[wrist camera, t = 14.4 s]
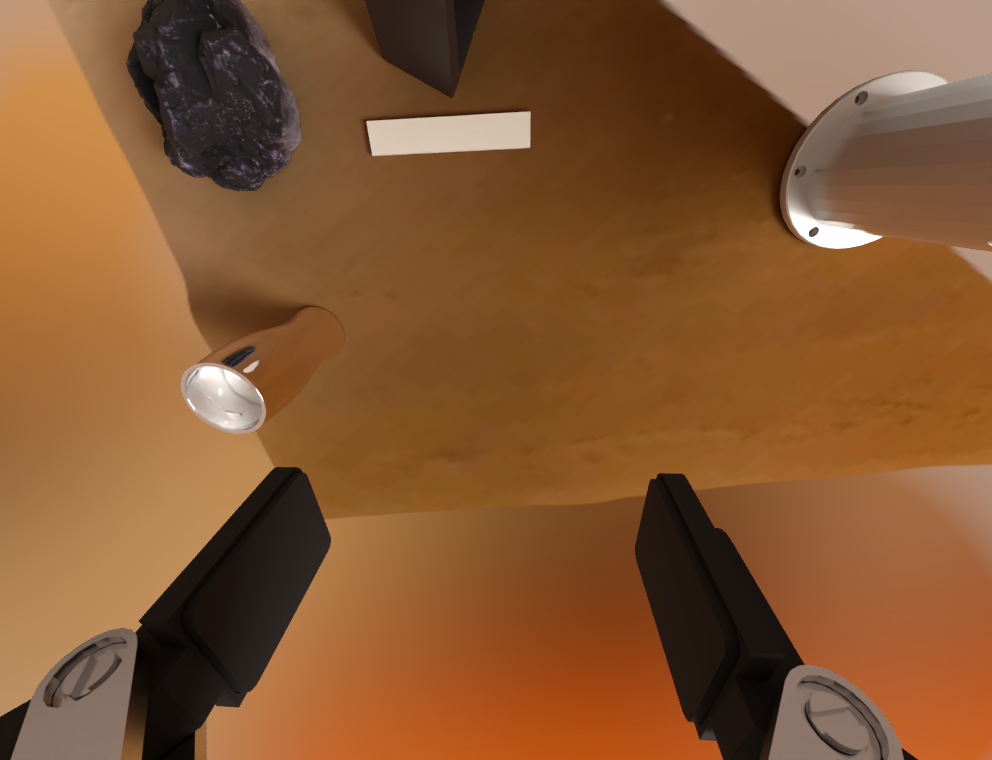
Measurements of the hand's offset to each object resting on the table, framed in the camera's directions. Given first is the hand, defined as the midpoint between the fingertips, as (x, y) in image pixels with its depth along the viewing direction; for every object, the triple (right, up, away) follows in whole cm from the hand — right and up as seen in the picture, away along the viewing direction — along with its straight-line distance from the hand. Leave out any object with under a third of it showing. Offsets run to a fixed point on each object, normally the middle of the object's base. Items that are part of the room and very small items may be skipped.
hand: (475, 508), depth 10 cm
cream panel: (-4, +25, +21) cm, 33 cm away
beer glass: (-20, +9, +31) cm, 38 cm away
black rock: (-22, +28, +22) cm, 42 cm away
